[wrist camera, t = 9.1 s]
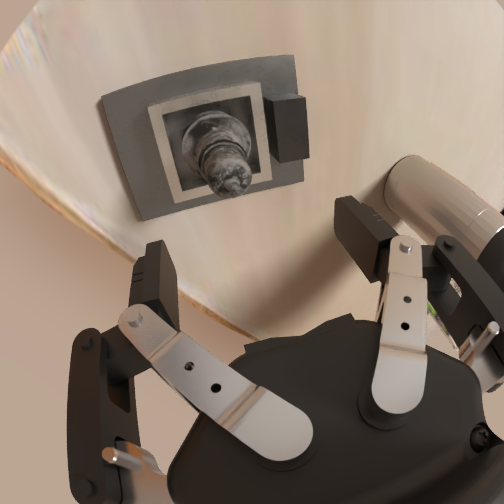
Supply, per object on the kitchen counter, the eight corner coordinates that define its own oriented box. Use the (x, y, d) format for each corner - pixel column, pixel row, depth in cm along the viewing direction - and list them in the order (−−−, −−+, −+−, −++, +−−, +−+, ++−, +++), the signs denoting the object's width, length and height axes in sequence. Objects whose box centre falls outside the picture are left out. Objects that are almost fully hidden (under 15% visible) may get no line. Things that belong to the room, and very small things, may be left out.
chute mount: (289, 54, 23) (306, 54, 19) (300, 176, 32) (315, 193, 28) (104, 95, 21) (92, 100, 18) (143, 215, 30) (140, 237, 27)
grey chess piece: (230, 171, 28) (261, 240, 19) (173, 157, 26) (172, 223, 16) (251, 117, 25) (299, 159, 16) (192, 100, 23) (202, 128, 13)
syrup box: (441, 289, 58) (473, 331, 47) (443, 297, 62) (472, 337, 51) (424, 303, 60) (455, 347, 49) (427, 311, 63) (456, 352, 52)
